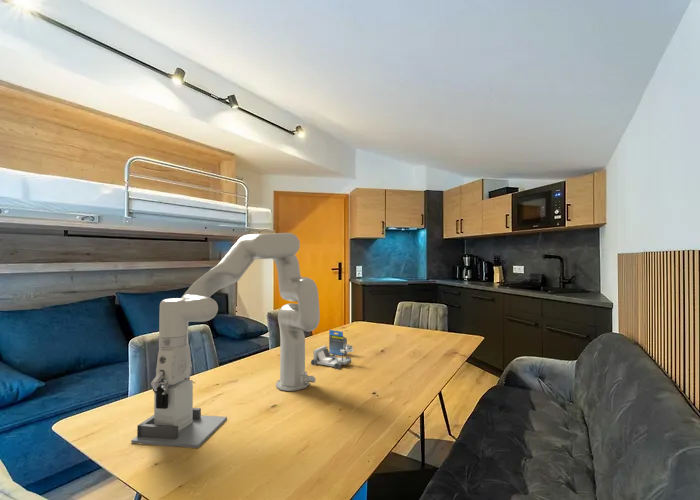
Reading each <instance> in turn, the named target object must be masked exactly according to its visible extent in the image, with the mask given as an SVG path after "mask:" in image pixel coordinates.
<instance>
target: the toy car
mask: <svg viewBox="0 0 700 500" xmlns="http://www.w3.org/2000/svg"><path fill="white" fill-rule="evenodd" d="M340 352H342V356H341V357H337V356H338V355H336V354H330V353H329V348H327V345H323V346H320V347H318V348H315V349H314V350H313V359H311V360H310V365H312V366H317V365H320V366H321V365H322V366H326V367H327V366H328V367H333V368H334V369H335V370H340V369H341V366H343V365H344V366H345V365H347V364H351V363H352V358H351V357H350V356H348V353H352V352H354V348H353V345H350V344H348V343H347V346H346V351H345V350H340ZM345 352H346V355H345V357H344V356H343V353H345Z"/></svg>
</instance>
